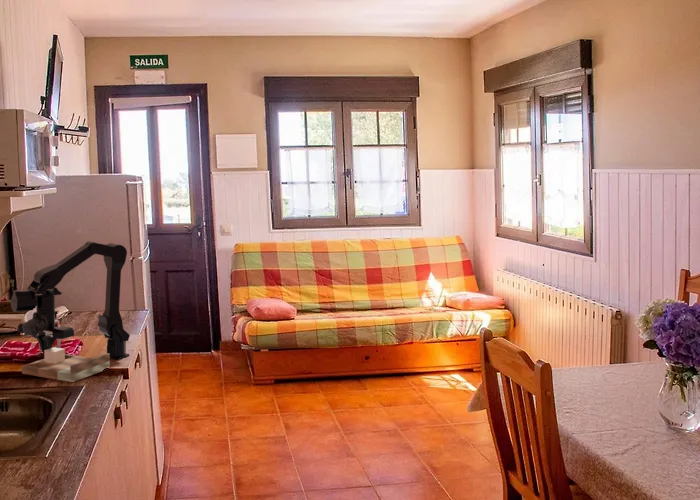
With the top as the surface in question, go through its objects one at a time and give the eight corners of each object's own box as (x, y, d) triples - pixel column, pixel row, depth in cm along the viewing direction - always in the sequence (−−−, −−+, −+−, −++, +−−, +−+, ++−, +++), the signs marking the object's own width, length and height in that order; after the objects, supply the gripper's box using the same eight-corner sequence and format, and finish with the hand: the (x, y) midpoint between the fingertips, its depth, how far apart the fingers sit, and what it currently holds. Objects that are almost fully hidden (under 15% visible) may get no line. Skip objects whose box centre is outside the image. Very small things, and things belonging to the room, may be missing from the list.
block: (54, 359, 267) (54, 347, 267) (64, 360, 266) (64, 349, 265) (44, 362, 263) (44, 350, 263) (55, 364, 262) (55, 351, 261)
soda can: (53, 357, 279) (53, 323, 277) (34, 355, 280) (34, 321, 279) (64, 352, 286) (64, 319, 284) (46, 350, 287) (46, 317, 285)
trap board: (60, 360, 275) (60, 346, 274) (109, 368, 268) (109, 353, 267) (22, 373, 258) (21, 358, 258) (73, 382, 251) (72, 366, 251)
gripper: (4, 309, 260) (5, 357, 262) (51, 316, 253) (51, 365, 255) (30, 304, 270) (30, 349, 272) (75, 310, 263) (75, 357, 265)
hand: (45, 355), depth 266 cm, fingers closed
